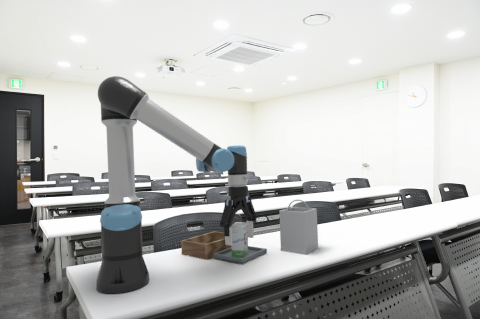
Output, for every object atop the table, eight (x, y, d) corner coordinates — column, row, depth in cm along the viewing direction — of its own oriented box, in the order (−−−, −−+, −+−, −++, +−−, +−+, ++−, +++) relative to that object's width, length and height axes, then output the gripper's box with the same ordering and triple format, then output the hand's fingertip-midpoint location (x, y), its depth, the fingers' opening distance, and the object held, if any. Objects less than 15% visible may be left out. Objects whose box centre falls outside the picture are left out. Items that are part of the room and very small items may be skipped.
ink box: (236, 251, 129) (235, 221, 129) (248, 251, 127) (247, 221, 128) (231, 257, 120) (230, 225, 120) (244, 257, 119) (243, 225, 119)
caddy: (306, 254, 123) (304, 212, 123) (280, 250, 130) (279, 210, 130) (318, 247, 132) (316, 208, 132) (293, 244, 139) (292, 207, 139)
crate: (207, 259, 121) (206, 244, 121) (181, 254, 129) (181, 240, 129) (239, 247, 137) (239, 234, 137) (214, 243, 145) (214, 231, 145)
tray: (242, 264, 113) (242, 259, 113) (213, 258, 122) (213, 253, 122) (266, 253, 126) (266, 248, 126) (239, 248, 134) (238, 244, 134)
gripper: (224, 188, 112) (226, 249, 112) (263, 183, 132) (265, 235, 132) (208, 188, 117) (210, 247, 116) (248, 183, 136) (250, 233, 136)
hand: (239, 241), depth 124 cm, fingers open, 13 cm apart
